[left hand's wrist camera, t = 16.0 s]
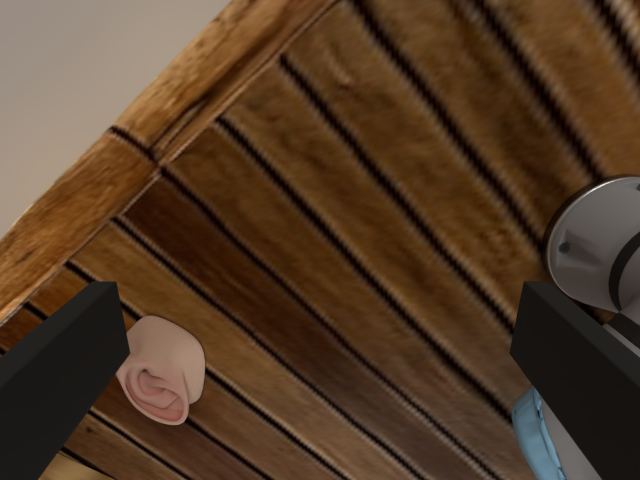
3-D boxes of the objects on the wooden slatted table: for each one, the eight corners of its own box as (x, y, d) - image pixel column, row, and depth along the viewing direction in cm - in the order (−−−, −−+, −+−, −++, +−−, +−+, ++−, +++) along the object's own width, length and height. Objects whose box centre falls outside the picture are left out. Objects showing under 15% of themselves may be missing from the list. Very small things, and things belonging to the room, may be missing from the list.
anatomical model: (110, 325, 45) (209, 351, 46) (126, 307, 48) (218, 332, 50) (96, 412, 49) (187, 434, 50) (112, 390, 53) (196, 410, 54)
